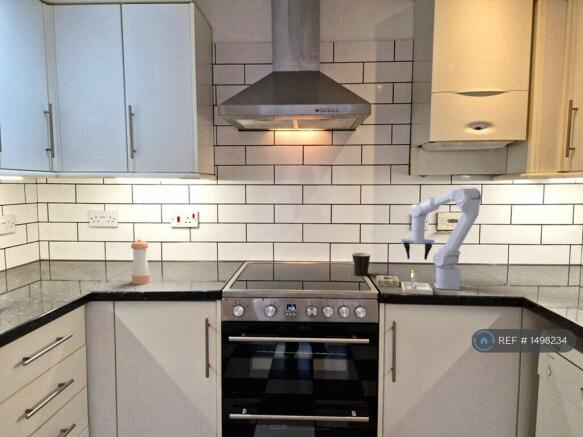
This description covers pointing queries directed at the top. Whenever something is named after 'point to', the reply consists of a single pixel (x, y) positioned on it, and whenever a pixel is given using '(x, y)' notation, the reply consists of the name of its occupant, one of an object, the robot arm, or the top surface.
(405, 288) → the tray
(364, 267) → the coffee mug
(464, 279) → the top surface
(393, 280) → the block
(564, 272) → the top surface
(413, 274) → the pin
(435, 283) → the robot arm
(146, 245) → the pepper shaker
